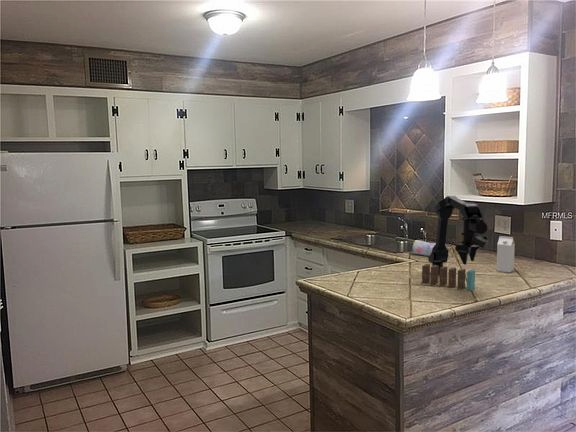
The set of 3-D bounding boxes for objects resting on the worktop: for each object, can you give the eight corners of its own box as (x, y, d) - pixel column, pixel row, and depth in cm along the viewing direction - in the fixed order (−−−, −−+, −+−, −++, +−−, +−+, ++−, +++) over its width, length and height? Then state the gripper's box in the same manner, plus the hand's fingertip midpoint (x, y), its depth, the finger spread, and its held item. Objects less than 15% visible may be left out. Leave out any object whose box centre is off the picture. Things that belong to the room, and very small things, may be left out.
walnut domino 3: (439, 285, 238) (439, 268, 237) (443, 283, 242) (443, 266, 241) (443, 286, 237) (443, 268, 236) (447, 284, 241) (447, 266, 239)
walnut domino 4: (448, 287, 235) (448, 269, 234) (452, 285, 239) (452, 267, 238) (452, 287, 234) (452, 269, 233) (456, 285, 238) (456, 267, 237)
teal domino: (466, 290, 229) (467, 271, 228) (470, 287, 233) (470, 269, 232) (470, 290, 228) (471, 272, 227) (474, 288, 232) (475, 270, 231)
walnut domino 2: (430, 284, 241) (430, 266, 240) (434, 282, 245) (434, 265, 244) (434, 285, 240) (434, 267, 238) (438, 282, 243) (438, 265, 242)
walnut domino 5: (457, 288, 232) (457, 270, 231) (461, 286, 236) (461, 268, 235) (461, 289, 231) (461, 271, 230) (465, 287, 235) (465, 269, 234)
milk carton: (500, 268, 270) (501, 235, 268) (513, 270, 265) (515, 236, 263) (496, 271, 264) (497, 236, 262) (510, 272, 260) (511, 238, 258)
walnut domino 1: (422, 283, 244) (422, 265, 243) (426, 281, 248) (426, 263, 246) (425, 283, 242) (426, 266, 241) (429, 281, 246) (430, 264, 245)
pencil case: (448, 256, 304) (448, 241, 303) (442, 259, 297) (443, 244, 296) (417, 253, 317) (417, 238, 316) (411, 255, 311) (411, 240, 309)
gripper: (479, 235, 216) (478, 269, 218) (493, 229, 229) (492, 261, 232) (455, 232, 223) (454, 265, 225) (470, 227, 237) (469, 258, 239)
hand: (468, 262), depth 230 cm, fingers open, 9 cm apart
